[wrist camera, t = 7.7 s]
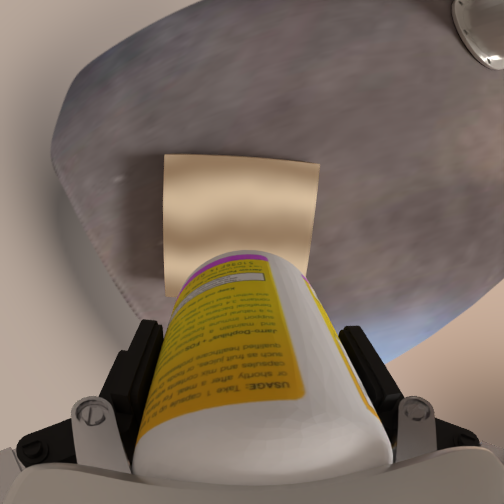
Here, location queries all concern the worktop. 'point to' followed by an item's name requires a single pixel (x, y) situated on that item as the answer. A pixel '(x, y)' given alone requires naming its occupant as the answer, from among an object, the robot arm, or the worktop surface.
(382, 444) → the supplement bottle
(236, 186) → the block
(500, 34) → the robot arm
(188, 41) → the worktop surface
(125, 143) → the worktop surface
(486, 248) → the worktop surface
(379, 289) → the worktop surface
